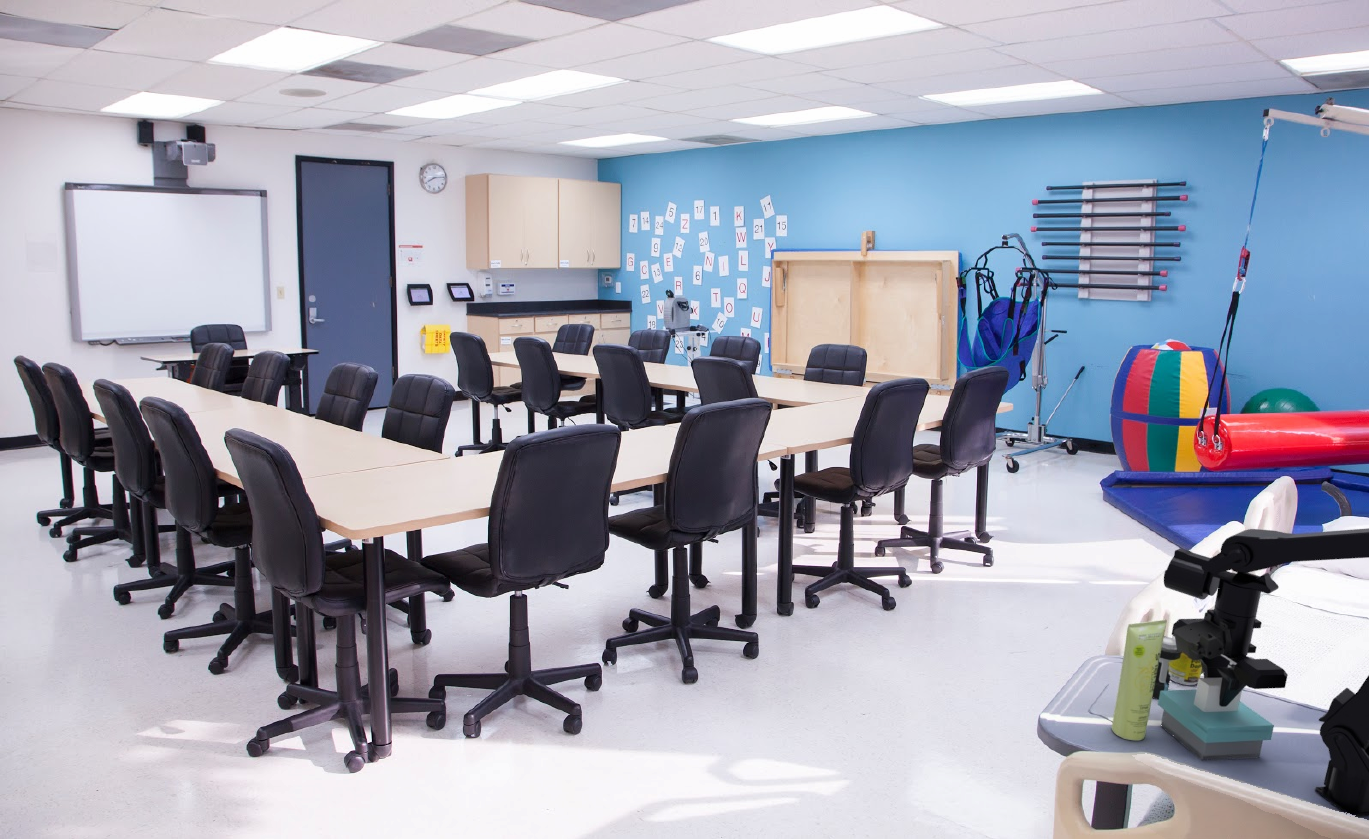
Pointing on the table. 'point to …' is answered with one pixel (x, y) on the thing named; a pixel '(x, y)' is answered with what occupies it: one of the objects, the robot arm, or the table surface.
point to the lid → (1214, 714)
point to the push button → (1165, 665)
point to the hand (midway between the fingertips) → (1216, 701)
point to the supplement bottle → (1185, 670)
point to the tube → (1138, 678)
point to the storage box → (1210, 749)
